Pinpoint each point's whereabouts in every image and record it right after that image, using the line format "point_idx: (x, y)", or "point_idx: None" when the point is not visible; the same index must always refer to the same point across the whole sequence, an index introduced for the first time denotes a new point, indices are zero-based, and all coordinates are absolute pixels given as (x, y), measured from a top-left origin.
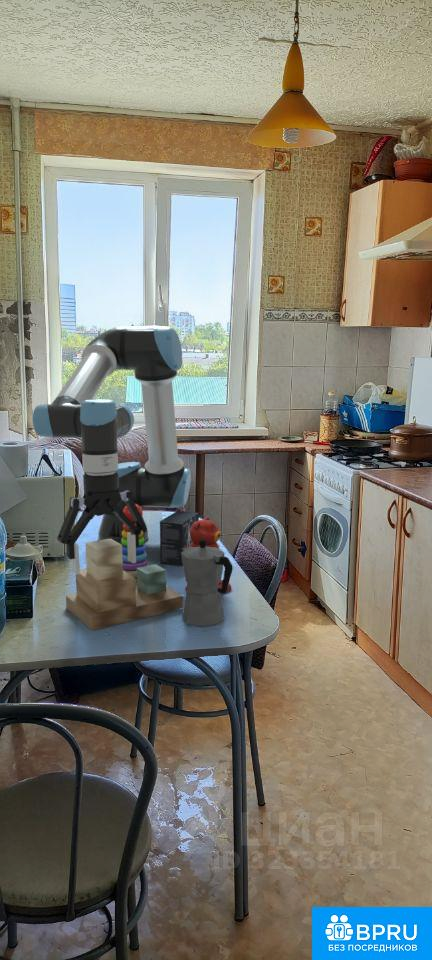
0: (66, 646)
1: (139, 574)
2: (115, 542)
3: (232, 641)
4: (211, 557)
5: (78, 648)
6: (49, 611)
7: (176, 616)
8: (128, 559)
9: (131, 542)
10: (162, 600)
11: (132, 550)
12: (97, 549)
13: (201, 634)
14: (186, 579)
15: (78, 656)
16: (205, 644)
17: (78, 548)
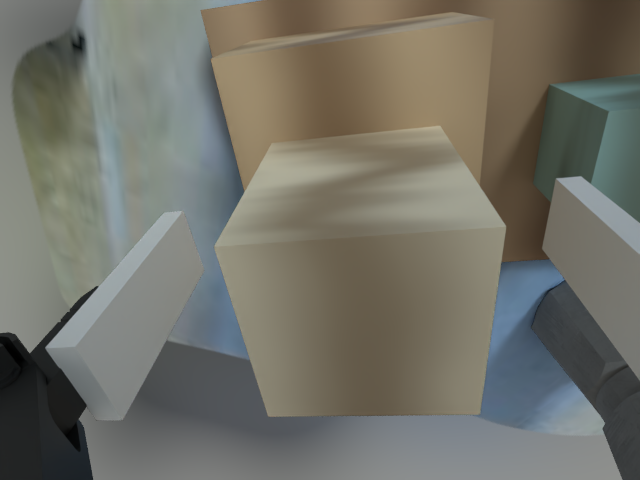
0: (195, 301)
1: (583, 142)
2: (470, 354)
3: (547, 421)
4: None
5: (222, 320)
6: (148, 14)
7: (543, 270)
8: (557, 190)
9: (624, 335)
10: (543, 258)
11: (584, 301)
12: (277, 415)
13: (516, 376)
14: (623, 421)
15: (217, 349)
16: (488, 410)
17: (136, 392)
